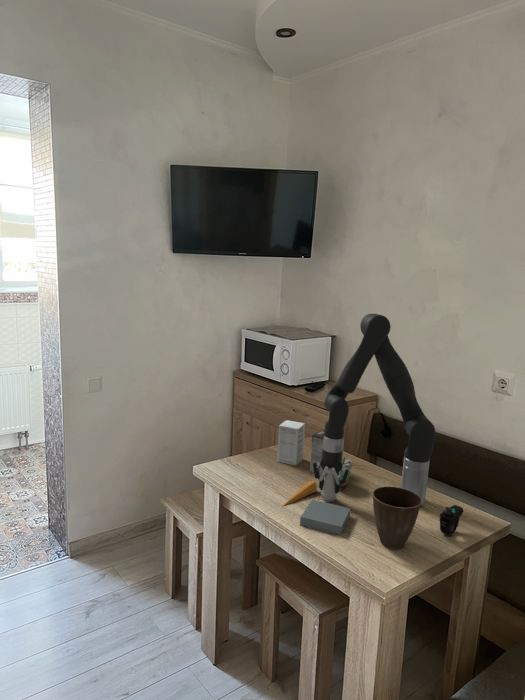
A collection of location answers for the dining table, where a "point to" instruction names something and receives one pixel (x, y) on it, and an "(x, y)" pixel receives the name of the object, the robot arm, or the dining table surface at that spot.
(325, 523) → the base plinth
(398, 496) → the plant pot
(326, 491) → the salt shaker
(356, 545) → the dining table surface
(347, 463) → the food container
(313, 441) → the coffee box
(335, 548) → the dining table surface
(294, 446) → the supplement box
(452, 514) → the controller
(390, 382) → the robot arm
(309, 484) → the carrot
